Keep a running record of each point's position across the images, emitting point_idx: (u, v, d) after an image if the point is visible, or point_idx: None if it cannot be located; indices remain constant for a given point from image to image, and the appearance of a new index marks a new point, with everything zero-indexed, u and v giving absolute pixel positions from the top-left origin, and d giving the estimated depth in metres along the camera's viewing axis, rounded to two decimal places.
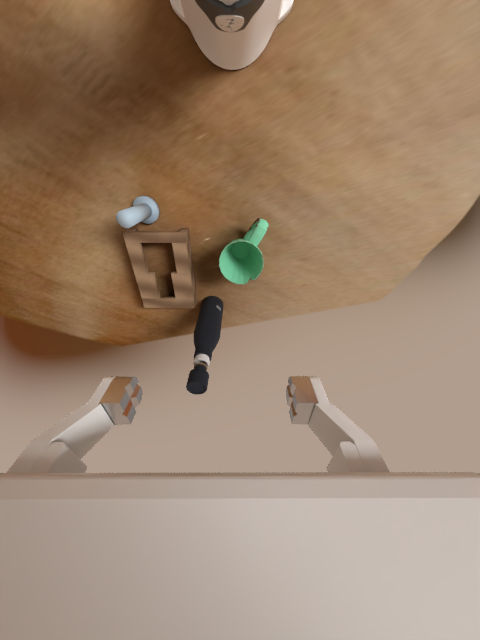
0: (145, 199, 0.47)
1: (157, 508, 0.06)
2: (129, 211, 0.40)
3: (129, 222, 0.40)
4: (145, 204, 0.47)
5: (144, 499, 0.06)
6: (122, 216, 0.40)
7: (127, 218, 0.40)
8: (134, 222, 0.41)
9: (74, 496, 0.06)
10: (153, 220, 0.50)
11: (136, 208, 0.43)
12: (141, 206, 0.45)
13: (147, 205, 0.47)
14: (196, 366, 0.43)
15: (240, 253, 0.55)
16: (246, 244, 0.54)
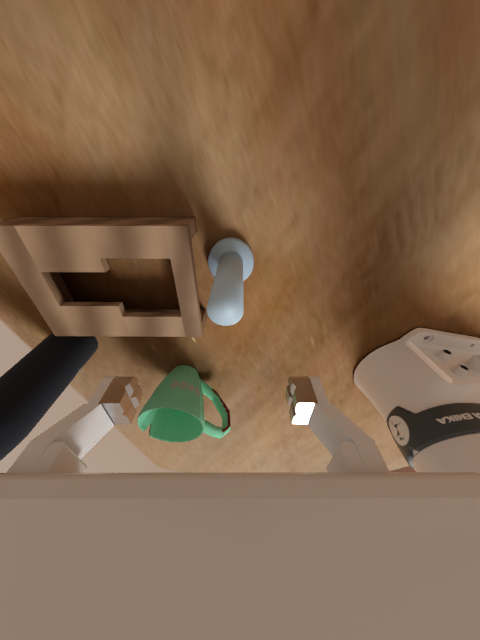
0: (248, 268, 0.27)
1: (157, 508, 0.06)
2: None
3: (219, 318, 0.18)
4: None
5: (144, 499, 0.06)
6: (231, 308, 0.17)
7: (227, 317, 0.18)
8: None
9: (73, 496, 0.06)
10: (214, 273, 0.27)
11: None
12: None
13: None
14: None
15: None
16: None
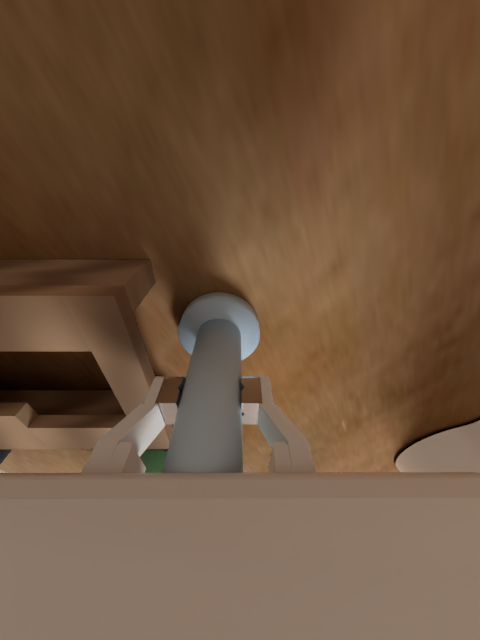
0: (250, 343, 0.15)
1: (157, 508, 0.06)
2: None
3: None
4: None
5: (144, 499, 0.06)
6: None
7: None
8: None
9: (73, 496, 0.06)
10: (191, 350, 0.16)
11: None
12: None
13: None
14: None
15: None
16: None
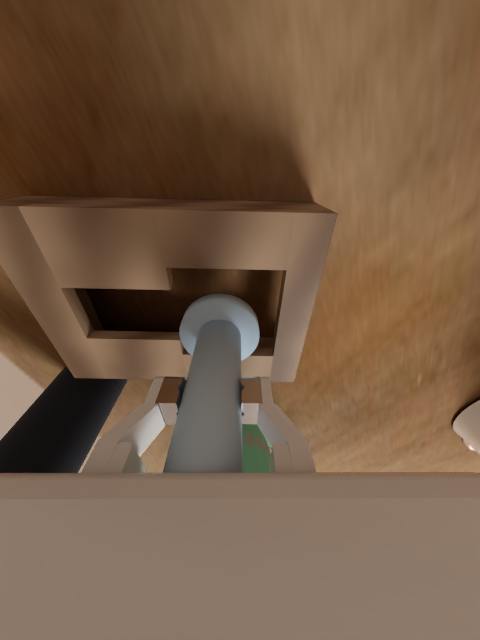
0: (250, 344, 0.15)
1: (157, 508, 0.06)
2: None
3: None
4: None
5: (144, 499, 0.06)
6: None
7: None
8: None
9: (73, 496, 0.06)
10: (191, 350, 0.16)
11: None
12: None
13: None
14: None
15: None
16: None
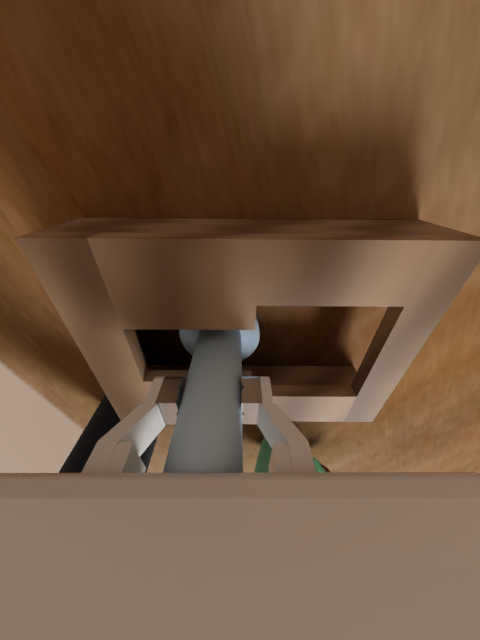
0: (250, 344, 0.15)
1: (157, 508, 0.06)
2: None
3: None
4: None
5: (144, 499, 0.06)
6: None
7: None
8: None
9: (73, 496, 0.06)
10: (191, 350, 0.16)
11: None
12: None
13: None
14: None
15: None
16: None
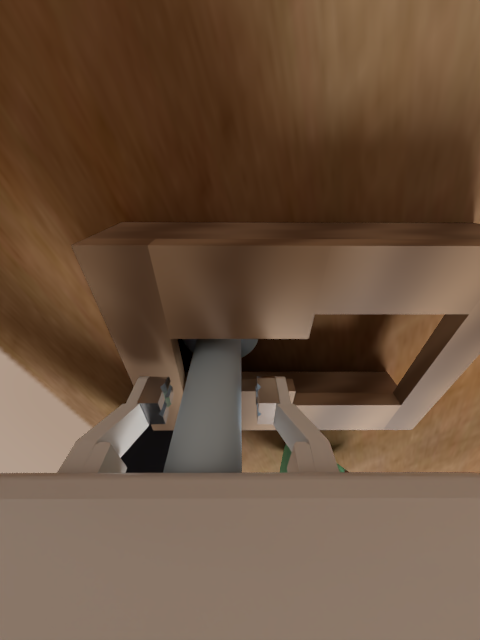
0: (249, 341, 0.16)
1: (157, 508, 0.06)
2: None
3: None
4: None
5: (144, 499, 0.06)
6: None
7: None
8: None
9: (73, 496, 0.06)
10: (192, 347, 0.16)
11: None
12: None
13: None
14: None
15: None
16: None
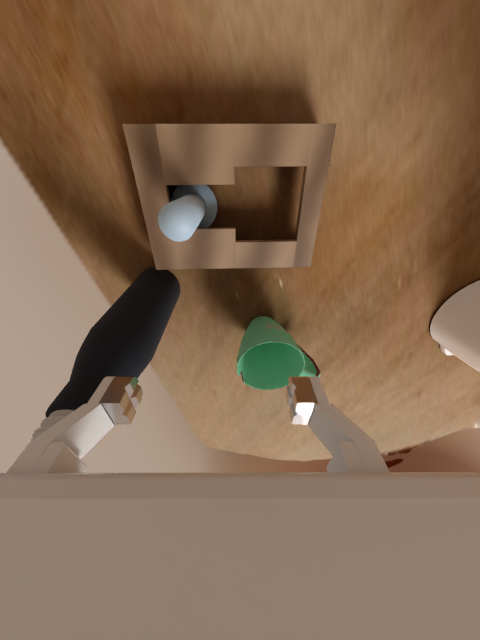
0: (212, 212, 0.27)
1: (157, 508, 0.06)
2: None
3: (172, 232, 0.18)
4: None
5: (144, 499, 0.06)
6: (183, 219, 0.18)
7: (179, 230, 0.18)
8: None
9: (74, 496, 0.06)
10: None
11: None
12: None
13: (203, 216, 0.27)
14: None
15: None
16: None
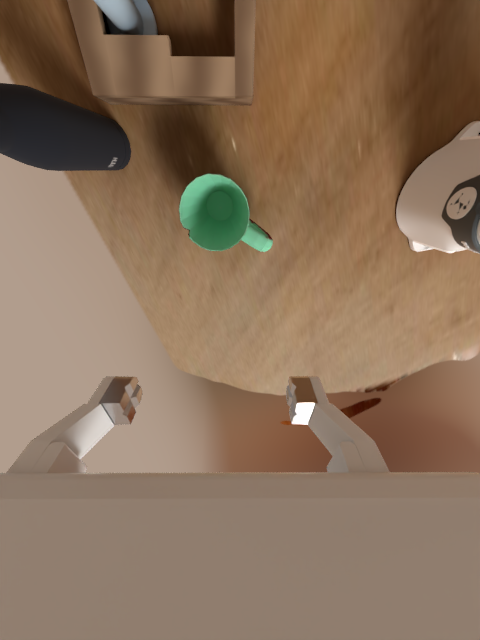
0: (150, 32, 0.26)
1: (157, 508, 0.06)
2: None
3: None
4: (140, 28, 0.25)
5: (144, 499, 0.06)
6: None
7: None
8: None
9: (73, 496, 0.06)
10: None
11: (119, 0, 0.21)
12: (130, 16, 0.23)
13: (140, 33, 0.26)
14: None
15: (215, 205, 0.38)
16: (228, 215, 0.38)
